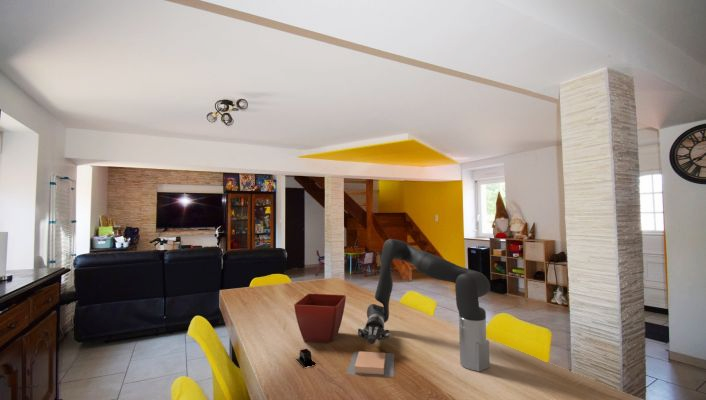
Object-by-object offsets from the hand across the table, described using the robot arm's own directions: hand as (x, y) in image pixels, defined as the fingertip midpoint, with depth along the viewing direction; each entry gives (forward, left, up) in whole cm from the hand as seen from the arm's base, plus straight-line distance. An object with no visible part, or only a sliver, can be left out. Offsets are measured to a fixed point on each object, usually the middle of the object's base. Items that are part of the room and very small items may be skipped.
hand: (371, 341), depth 119 cm
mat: (-1, 0, -8) cm, 8 cm away
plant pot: (+33, +4, -8) cm, 34 cm away
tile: (+2, -2, -6) cm, 7 cm away
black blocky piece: (+15, +20, -9) cm, 26 cm away
